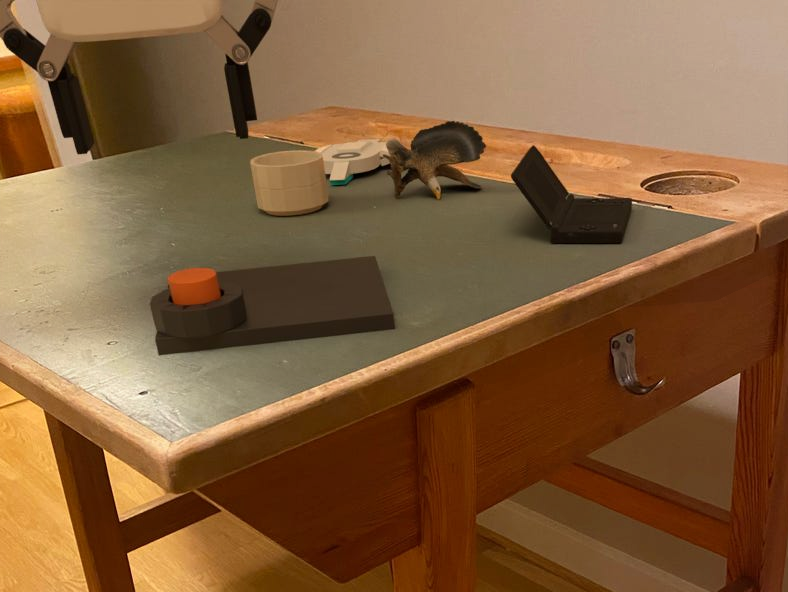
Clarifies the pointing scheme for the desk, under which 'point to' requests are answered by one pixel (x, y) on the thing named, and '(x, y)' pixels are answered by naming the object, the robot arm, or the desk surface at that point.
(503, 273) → the desk surface
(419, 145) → the triceratops head
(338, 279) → the scale
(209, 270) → the button
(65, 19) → the robot arm
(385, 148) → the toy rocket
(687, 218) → the desk surface
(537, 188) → the handheld gaming console
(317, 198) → the bowl
